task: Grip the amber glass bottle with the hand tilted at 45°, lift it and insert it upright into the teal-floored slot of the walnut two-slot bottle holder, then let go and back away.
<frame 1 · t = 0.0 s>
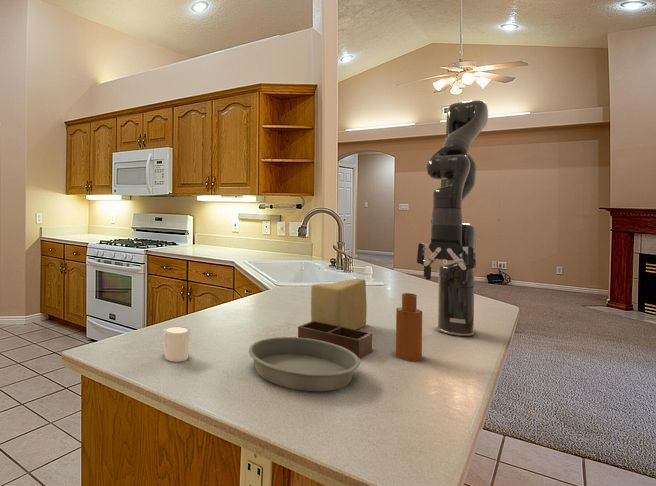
hand: (444, 281, 127), 17 cm above the countertop, tool pointing down, fingers open, 8 cm apart
cheese: (344, 331, 137), on the countertop
cake pan: (302, 373, 103), on the countertop
holder: (334, 346, 122), on the countertop
cream cylinder: (176, 358, 112), on the countertop
bottle: (408, 356, 114), on the countertop
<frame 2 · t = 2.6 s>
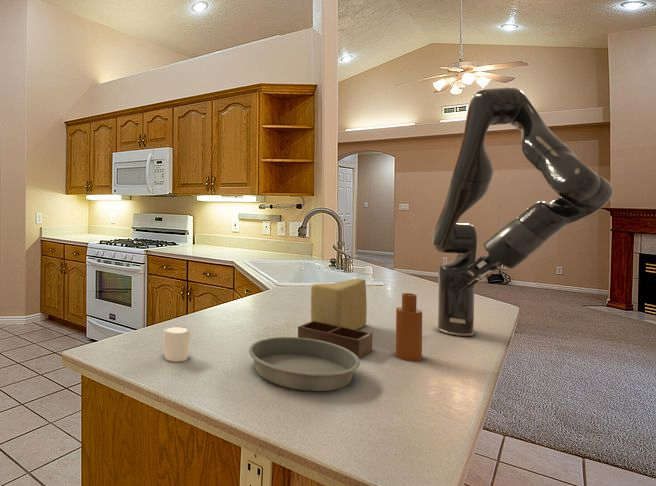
hand: (457, 288, 108), 19 cm above the countertop, tool tilted 45°, fingers open, 8 cm apart
nothing on the countertop moved.
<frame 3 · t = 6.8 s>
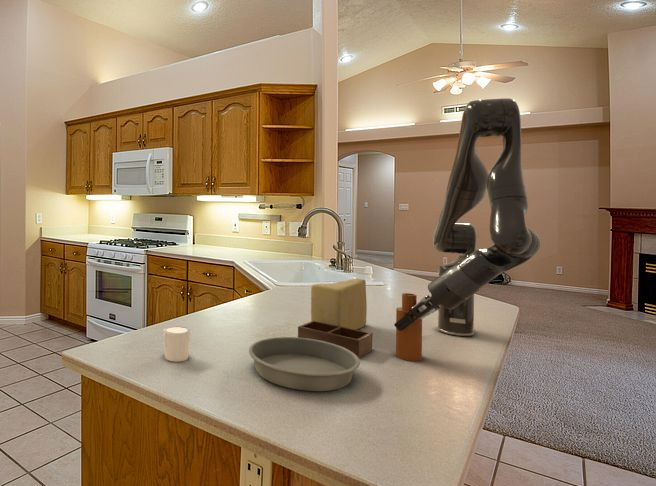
hand: (401, 325, 116), 8 cm above the countertop, tool tilted 45°, fingers closed on bottle, 6 cm apart
bottle: (408, 356, 114), on the countertop, touching gripper
everything else where it was.
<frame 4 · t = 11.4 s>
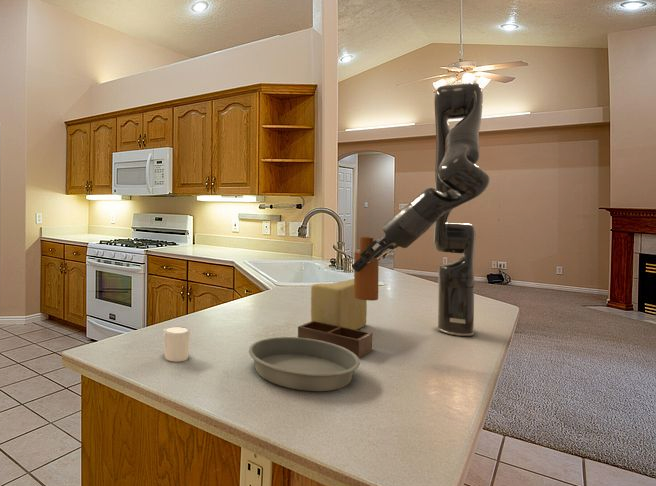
hand: (359, 267, 119), 22 cm above the countertop, tool tilted 45°, fingers closed on bottle, 6 cm apart
bottle: (366, 298, 118), point 14 cm above the countertop, touching gripper
everything else where it was.
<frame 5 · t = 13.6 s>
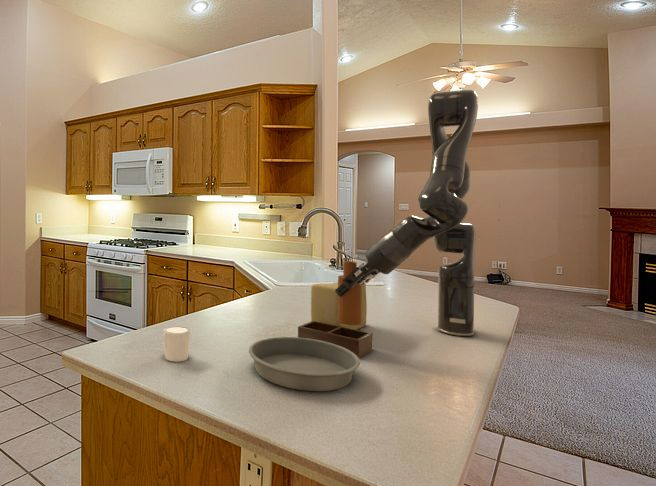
hand: (343, 292, 120), 15 cm above the countertop, tool tilted 45°, fingers closed on bottle, 6 cm apart
bottle: (349, 322, 119), point 7 cm above the countertop, touching gripper
everything else where it was.
when the fingers open (9 cm above the countertop, at t = 15.9 s): bottle stays where it is, resting on holder.
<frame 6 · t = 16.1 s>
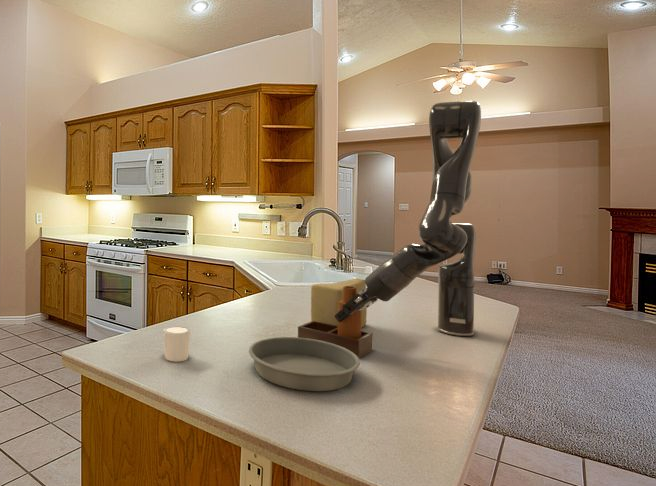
hand: (343, 316, 120), 9 cm above the countertop, tool tilted 45°, fingers open, 6 cm apart
bottle: (349, 347, 119), point 1 cm above the countertop, touching holder
everything else where it was.
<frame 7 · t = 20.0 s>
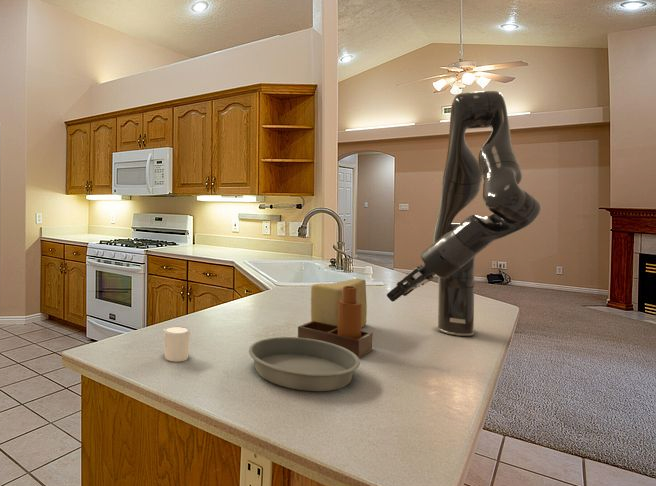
hand: (395, 295, 111), 16 cm above the countertop, tool tilted 45°, fingers open, 8 cm apart
nothing on the countertop moved.
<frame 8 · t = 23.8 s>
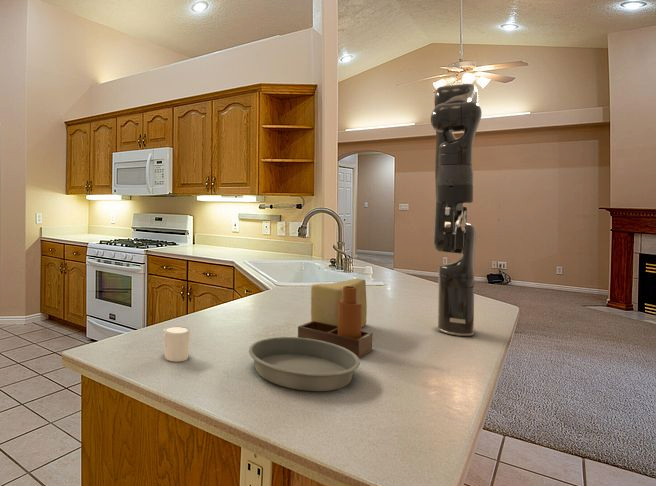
hand: (454, 248, 111), 28 cm above the countertop, tool pointing down, fingers open, 8 cm apart
nothing on the countertop moved.
at the end: bottle 0.2 cm from the target spot in the holder, point 0.8 cm above the holder's base; bottle tilted 0°; the gripper is holding nothing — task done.
